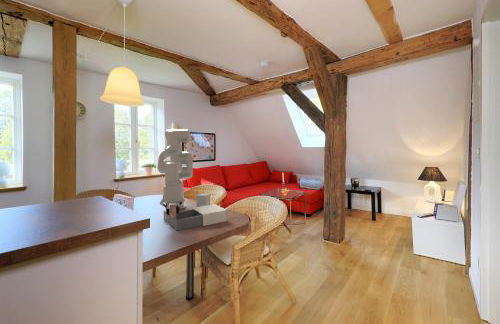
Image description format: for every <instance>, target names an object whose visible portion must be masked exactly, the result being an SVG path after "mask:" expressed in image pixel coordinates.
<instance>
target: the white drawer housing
mask: <svg viewBox="0 0 500 324" xmlns="http://www.w3.org/2000/svg"><path fill="white" fill-rule="evenodd" d="M191 208H192V209H194V210H195V211H197V212H199V213H200V214H202V215H203V225H202V226H203V227H205V226H209V225H214V224H216V225H217V224H219V223H224V222H225V223H226V222H228V210H227V209H226V208H224V207H221V206H219V205H217V204H215V203H214V204H213V203H212V204H210V205H206V206H200V207H197V206H193V207H191ZM192 209H191V210H192Z"/></svg>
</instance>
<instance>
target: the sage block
mask: <svg viewBox="0 0 500 324" xmlns="http://www.w3.org/2000/svg"><path fill="white" fill-rule="evenodd" d="M169 211H170V208H169ZM163 220H164V221H165V222H169V217H168V215H167V214H166V209H163Z"/></svg>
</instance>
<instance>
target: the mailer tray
mask: <svg viewBox="0 0 500 324" xmlns="http://www.w3.org/2000/svg"><path fill="white" fill-rule="evenodd" d="M169 206H170V208H169V209H170V215H168V217H169V221H168V224H169V225H170V226H171V227H172V228H173V229H174V230H176V231H180V230H187V229H191V228H196V227H197V228H198V227H200V226H203V215H202V214H200V213H199V212H197V211H195V210H194V209H188V210H181V211H180V210H179V214H177V213H176V206H175V205H174V204H171V203H169Z"/></svg>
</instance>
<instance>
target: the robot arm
mask: <svg viewBox="0 0 500 324" xmlns="http://www.w3.org/2000/svg"><path fill="white" fill-rule="evenodd" d="M164 136H165V139H166V148H164V149H163V150H162V151H161V152H160V154H159V156H158V159H157V171H158V173H160V174H164V185H163V188H162V199H161V200H160V202H159V204H160V205H161V206H162V207H164V209H165V210H166V214H167V215H170V211H169V209H170V206H169V204H174V205H175V206H176V213H177V214H179V212H180V210H181V209H185V208H186V207H187V204H185V203H184V202H185V201H186V200H185V198H184V197H185V196H184V182H183V181H182V180H181V179H192V177H193V174H194V171H193V169H194V168H193V165H194V164H193V155H192V153H191V152H190V151H183V146H182V144H181V143H189V142H190V140H191V132H190V130H189V129H186V128H185V129H184V128H183V129H182V128H181V129H177V128H171V129H170V128H169V129H166V130H165V131H164ZM167 158H170V160H165V159H167Z"/></svg>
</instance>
